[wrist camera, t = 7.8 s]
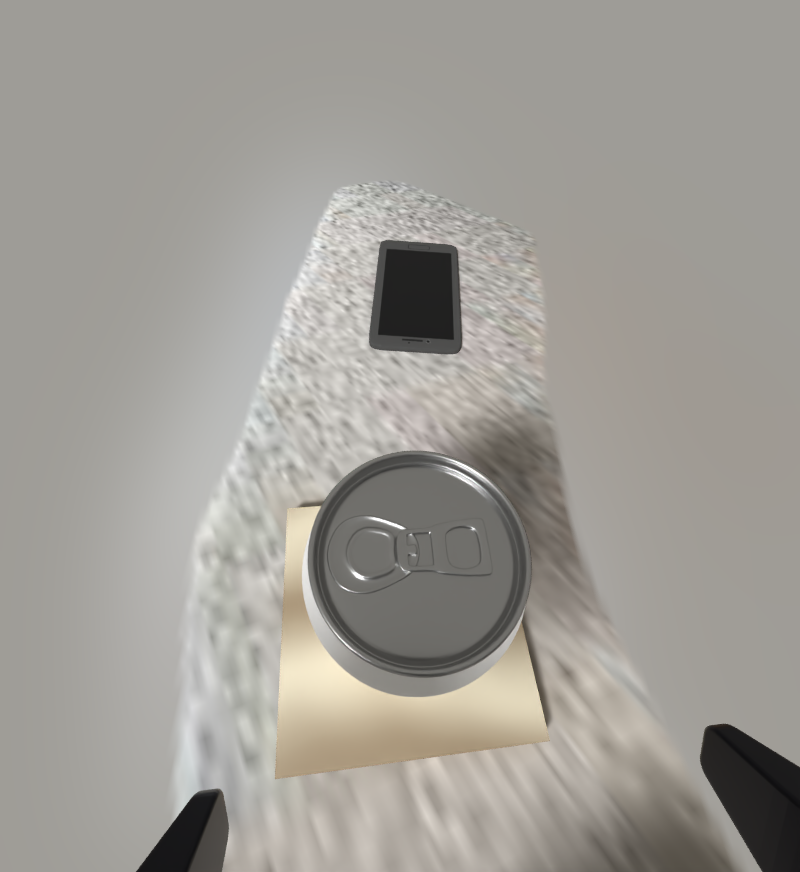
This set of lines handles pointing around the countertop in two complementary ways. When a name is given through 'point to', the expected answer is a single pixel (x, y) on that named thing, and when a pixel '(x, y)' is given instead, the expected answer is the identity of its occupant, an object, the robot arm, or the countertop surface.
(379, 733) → the coaster
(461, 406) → the countertop surface
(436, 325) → the cell phone
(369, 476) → the can
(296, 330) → the countertop surface
